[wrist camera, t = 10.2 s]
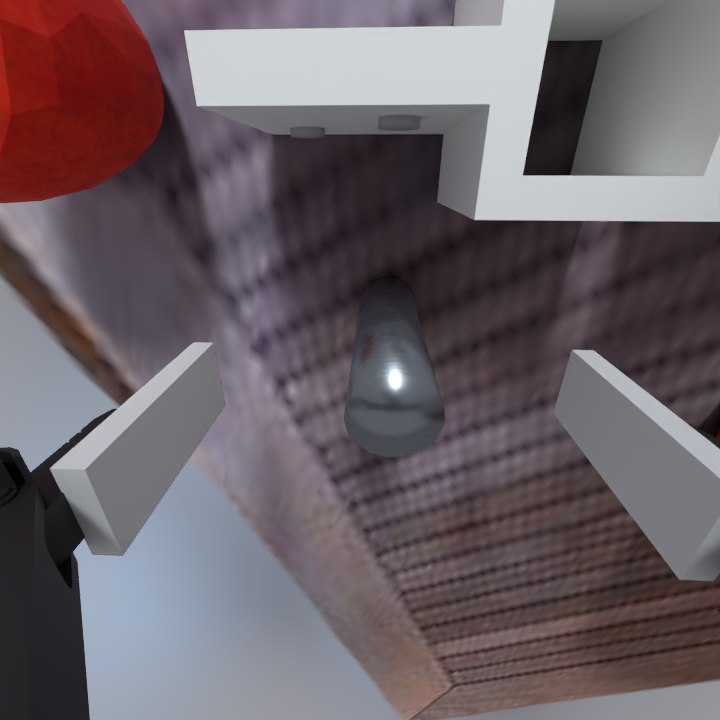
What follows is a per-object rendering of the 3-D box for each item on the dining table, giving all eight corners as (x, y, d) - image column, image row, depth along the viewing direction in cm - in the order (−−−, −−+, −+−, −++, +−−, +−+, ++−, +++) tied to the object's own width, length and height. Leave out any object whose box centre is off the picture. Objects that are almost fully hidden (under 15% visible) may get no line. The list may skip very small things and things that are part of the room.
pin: (361, 276, 20) (343, 373, 10) (415, 277, 20) (450, 377, 10) (361, 327, 21) (345, 455, 12) (411, 327, 21) (439, 458, 11)
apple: (29, 167, 18) (-360, 159, 9) (-10, -75, 14) (-807, -586, 5) (203, 213, 19) (21, 253, 9) (213, -7, 15) (-88, -335, 5)
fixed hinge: (261, 7, 15) (155, -142, 8) (642, 0, 14) (900, -170, 7) (279, 201, 18) (215, 218, 11) (588, 202, 18) (728, 221, 11)
